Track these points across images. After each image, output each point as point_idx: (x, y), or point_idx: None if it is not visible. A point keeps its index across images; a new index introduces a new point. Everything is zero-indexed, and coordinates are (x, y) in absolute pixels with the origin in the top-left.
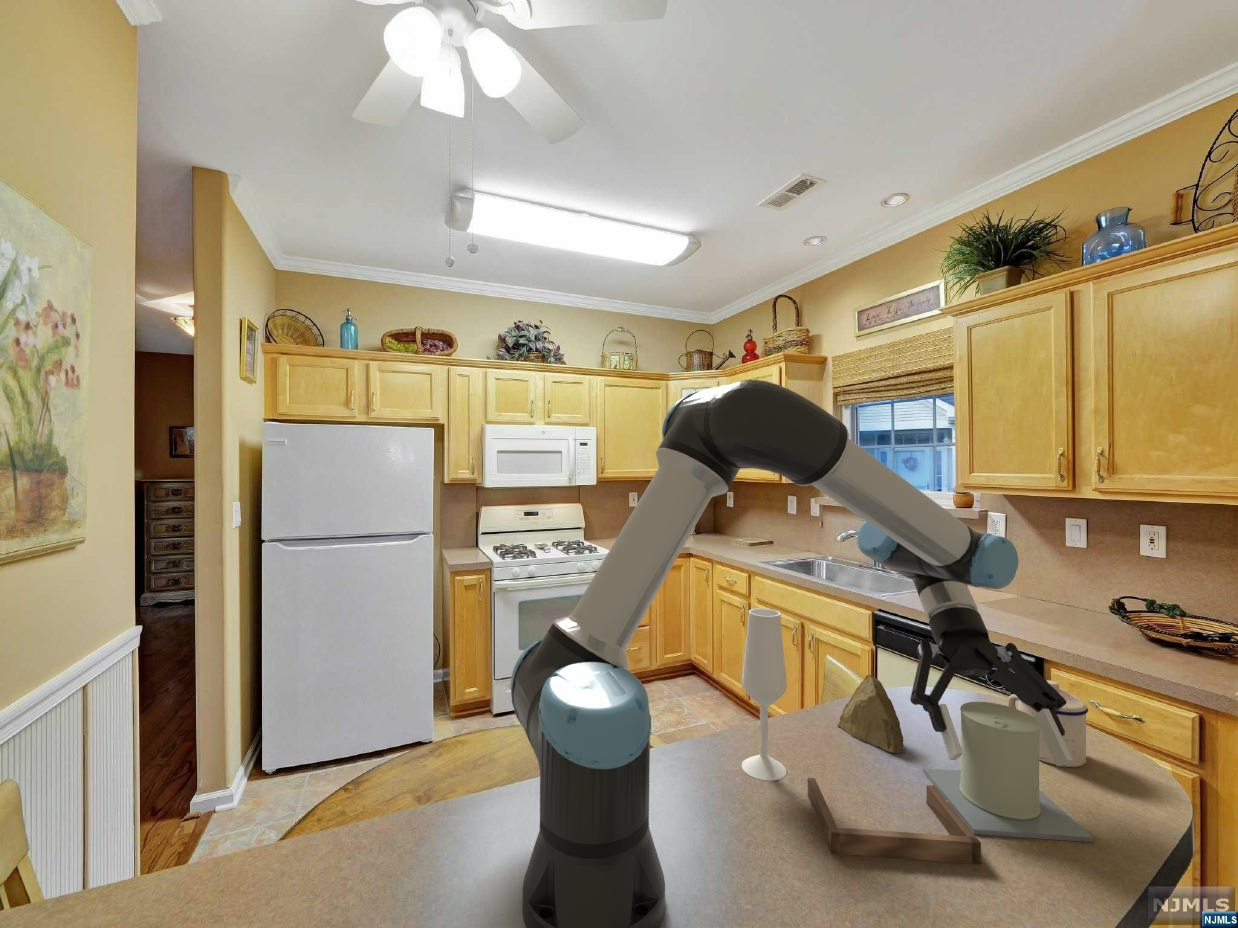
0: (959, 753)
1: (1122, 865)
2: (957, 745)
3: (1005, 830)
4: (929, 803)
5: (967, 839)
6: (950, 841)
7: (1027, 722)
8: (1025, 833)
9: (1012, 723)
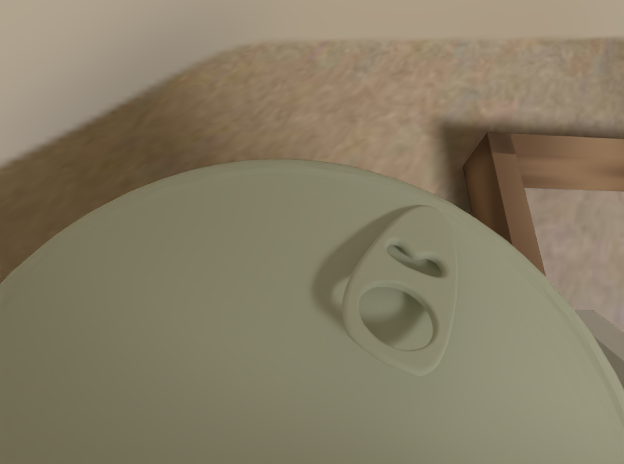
0: (578, 313)
1: (66, 185)
2: (605, 330)
3: None
4: None
5: (519, 142)
6: (563, 137)
7: (76, 357)
8: None
9: (258, 316)
